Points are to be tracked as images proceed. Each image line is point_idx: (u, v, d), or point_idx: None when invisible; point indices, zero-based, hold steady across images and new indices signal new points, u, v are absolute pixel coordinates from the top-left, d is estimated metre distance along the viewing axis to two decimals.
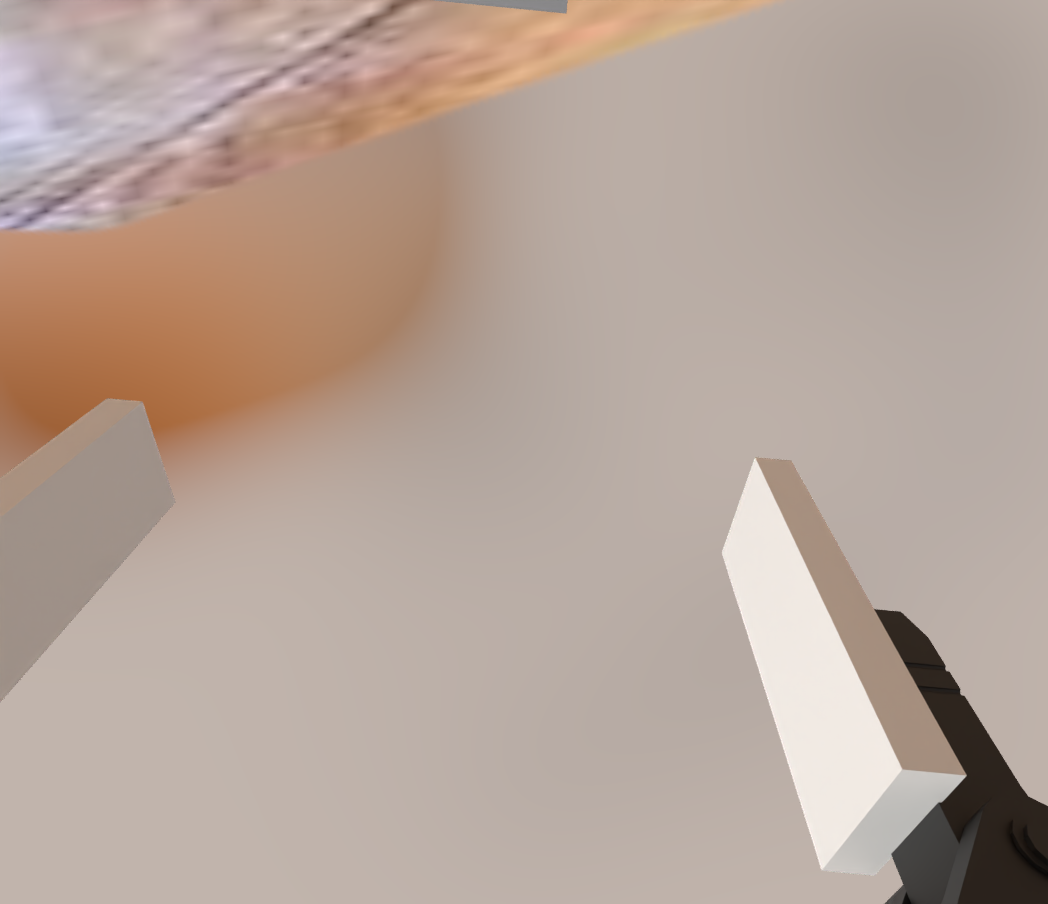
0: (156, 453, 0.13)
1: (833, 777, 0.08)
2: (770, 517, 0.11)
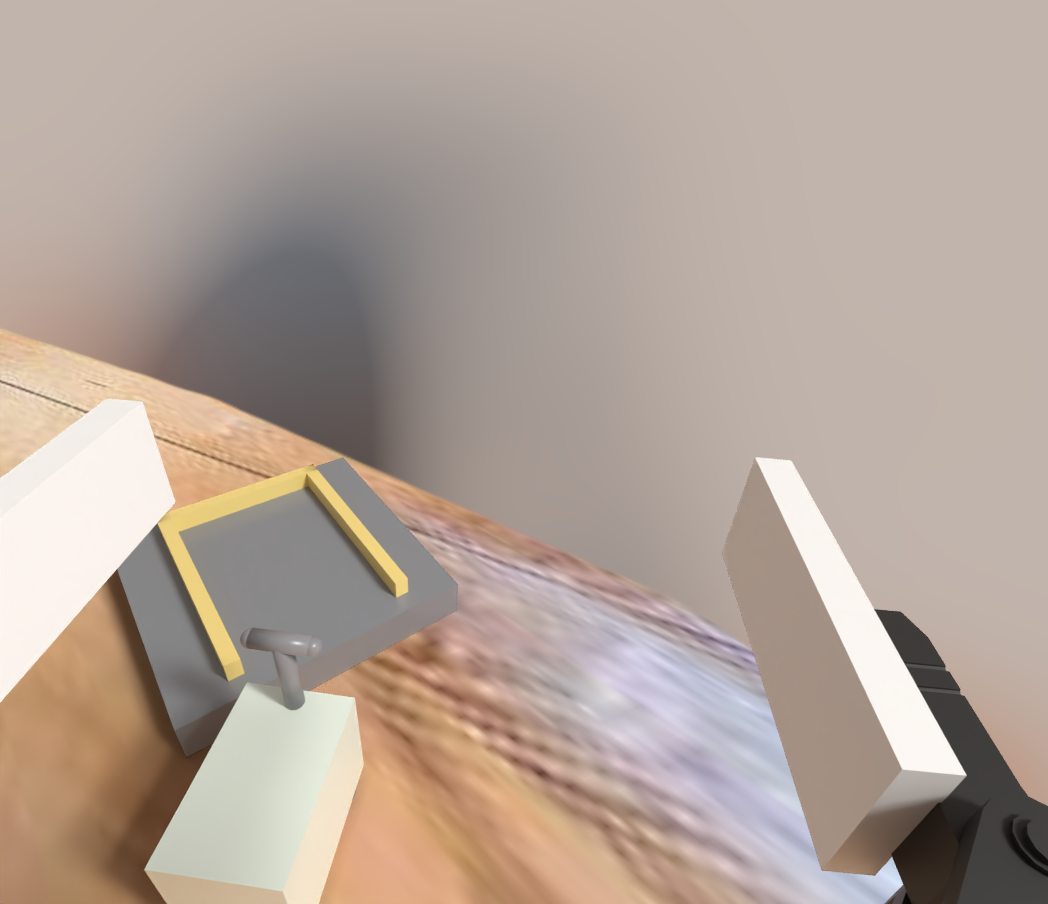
0: (157, 453, 0.13)
1: (833, 777, 0.08)
2: (769, 517, 0.11)
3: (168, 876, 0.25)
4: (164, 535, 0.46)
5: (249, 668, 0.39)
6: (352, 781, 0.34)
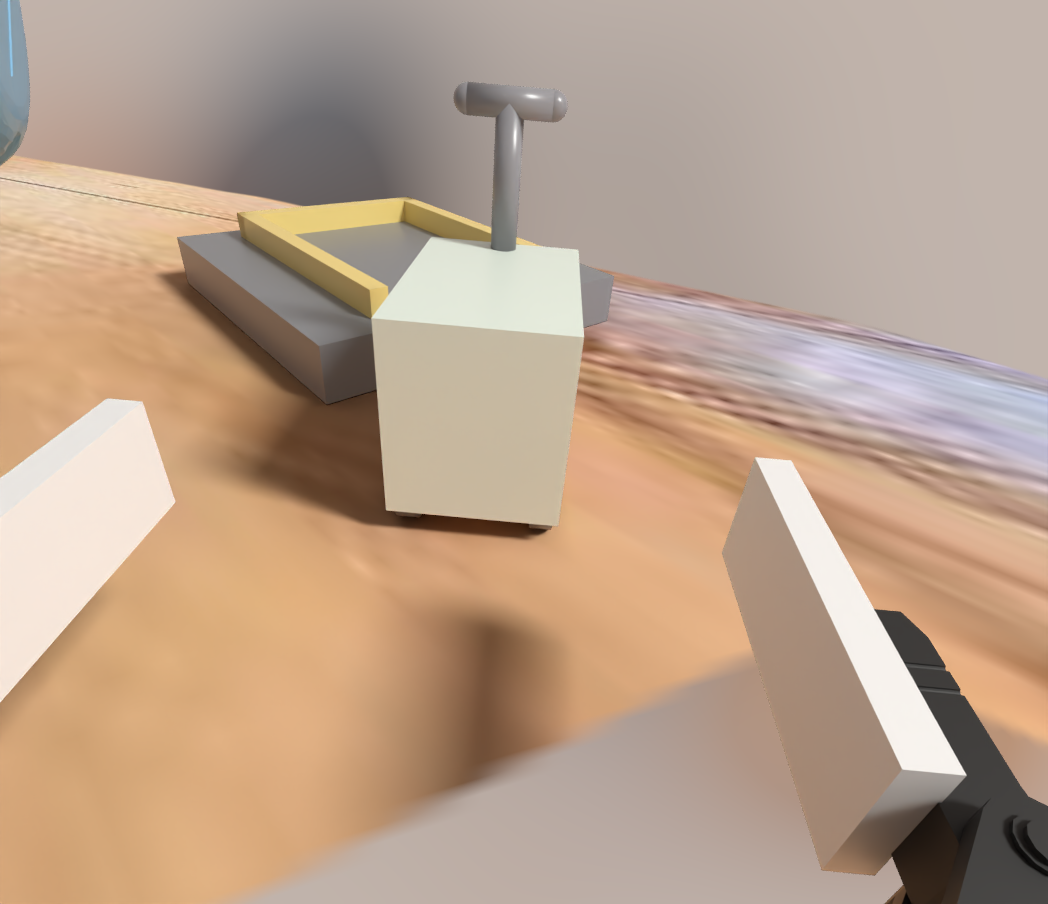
0: (157, 453, 0.13)
1: (833, 777, 0.08)
2: (769, 517, 0.11)
3: (405, 333, 0.17)
4: (254, 222, 0.37)
5: None
6: None
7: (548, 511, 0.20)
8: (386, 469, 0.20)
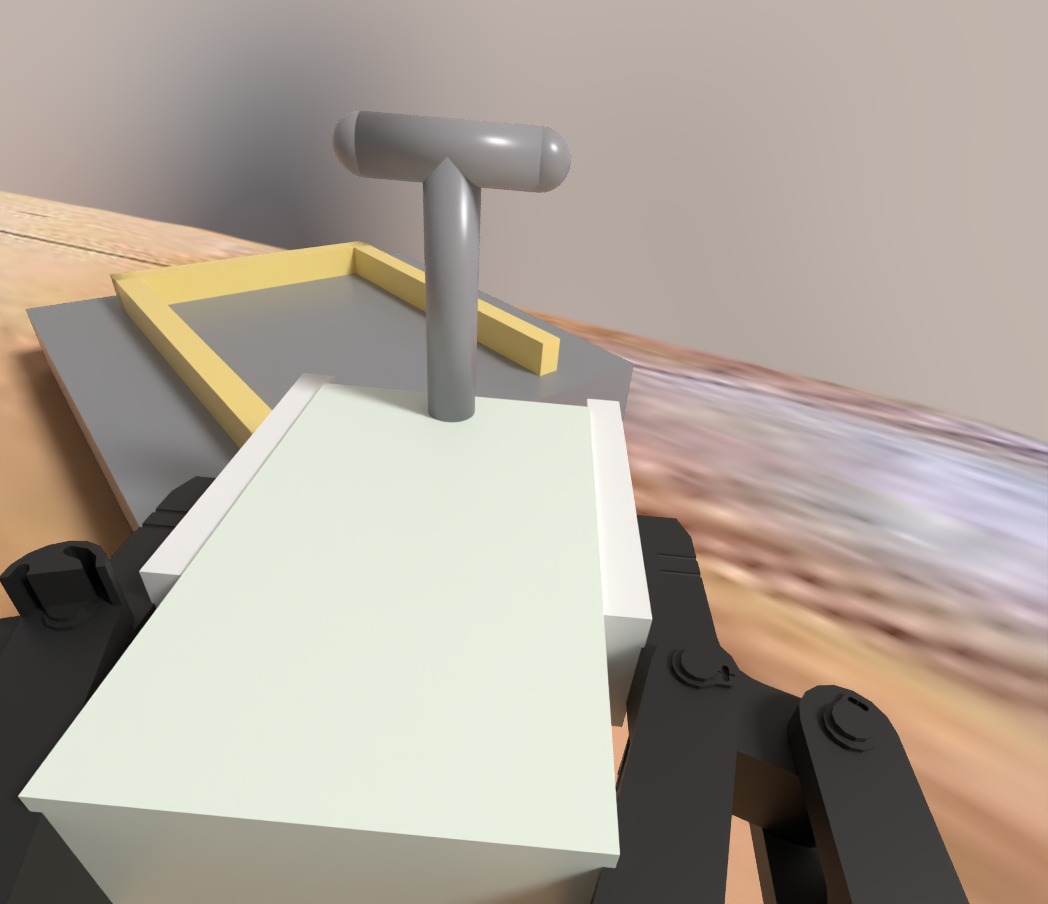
0: None
1: None
2: None
3: (125, 822, 0.06)
4: (127, 291, 0.26)
5: None
6: None
7: None
8: None
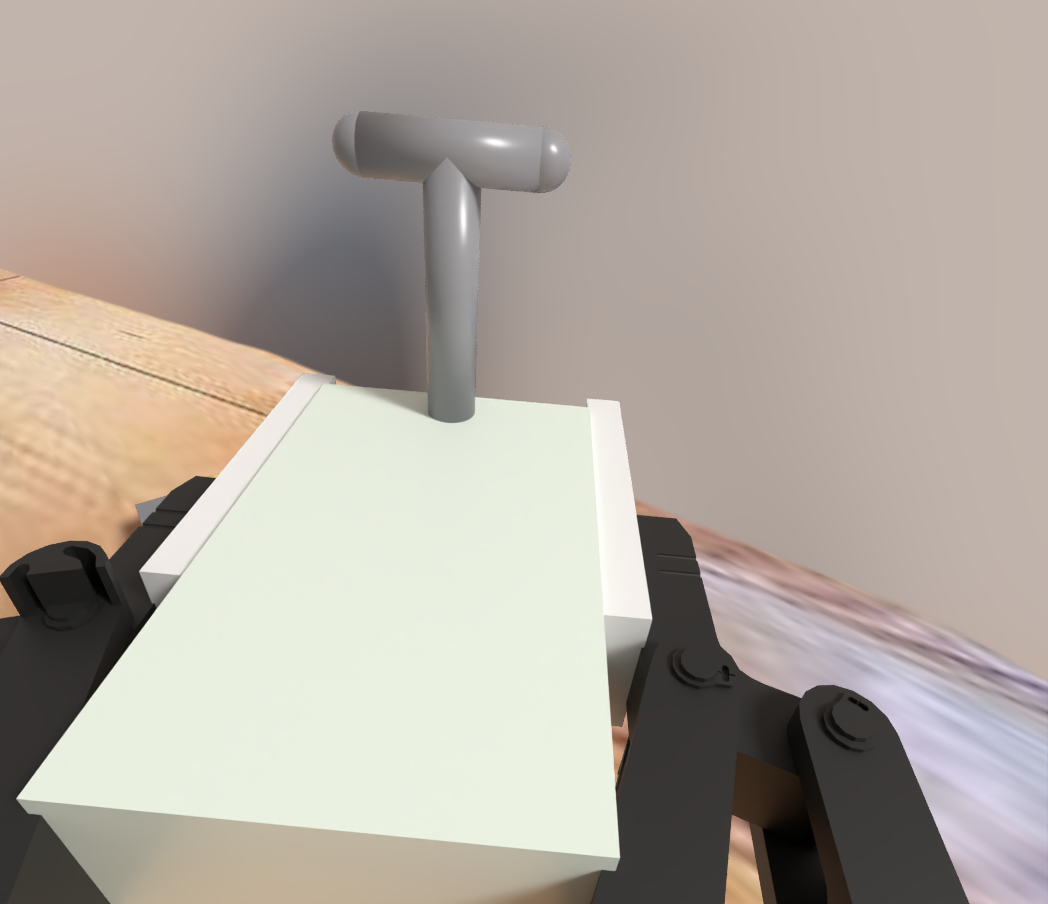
0: None
1: None
2: None
3: (123, 824, 0.06)
4: None
5: None
6: None
7: None
8: None
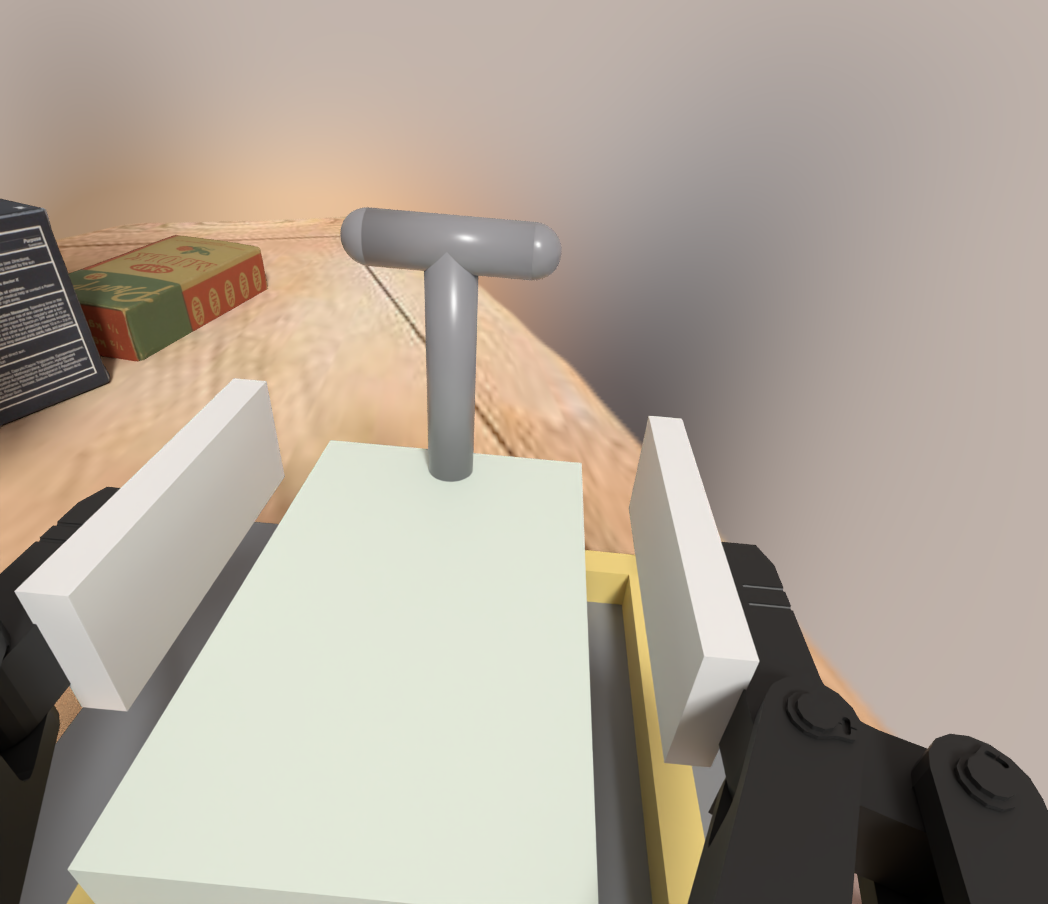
0: (273, 430, 0.14)
1: (673, 680, 0.10)
2: (653, 466, 0.12)
3: (161, 890, 0.07)
4: None
5: None
6: None
7: None
8: None
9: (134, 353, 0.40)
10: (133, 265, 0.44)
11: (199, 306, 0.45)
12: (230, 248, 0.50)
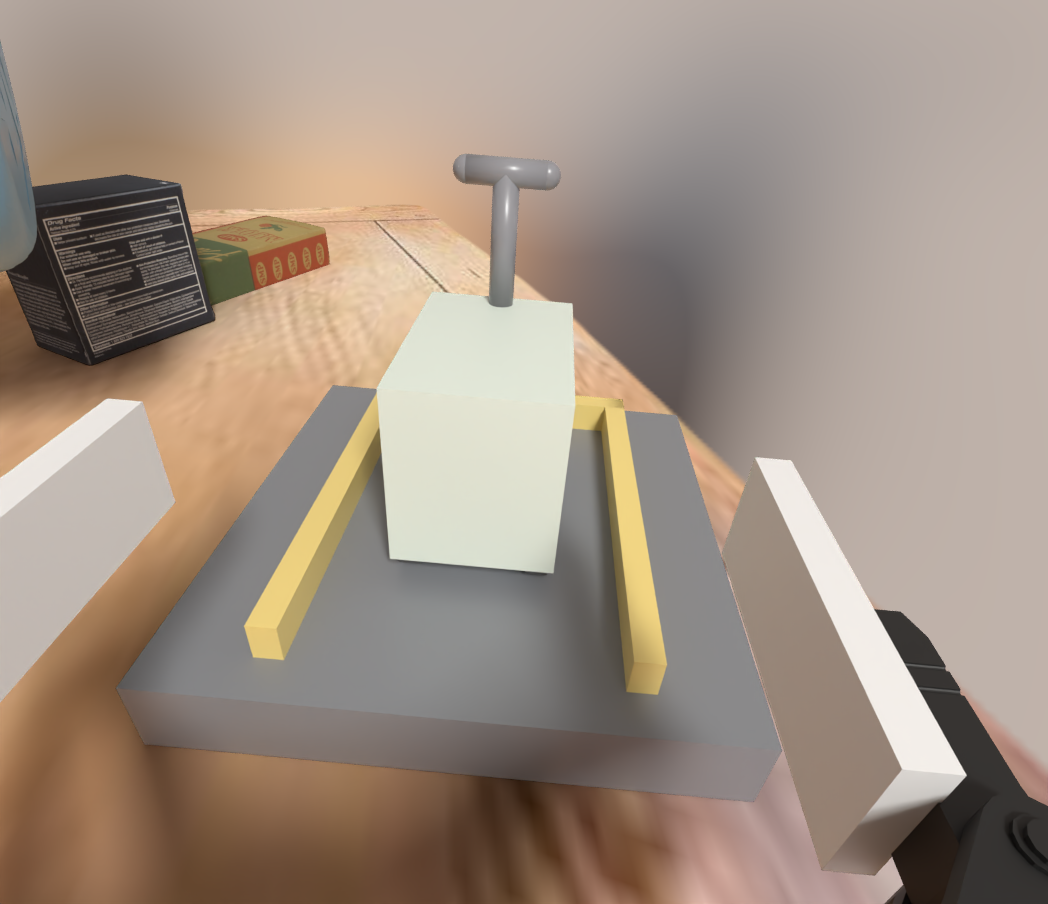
0: (157, 453, 0.13)
1: (833, 777, 0.08)
2: (770, 517, 0.11)
3: (408, 401, 0.18)
4: (372, 402, 0.30)
5: (297, 655, 0.19)
6: None
7: (543, 560, 0.21)
8: (390, 522, 0.21)
9: None
10: (221, 234, 0.56)
11: (263, 270, 0.55)
12: (300, 227, 0.60)
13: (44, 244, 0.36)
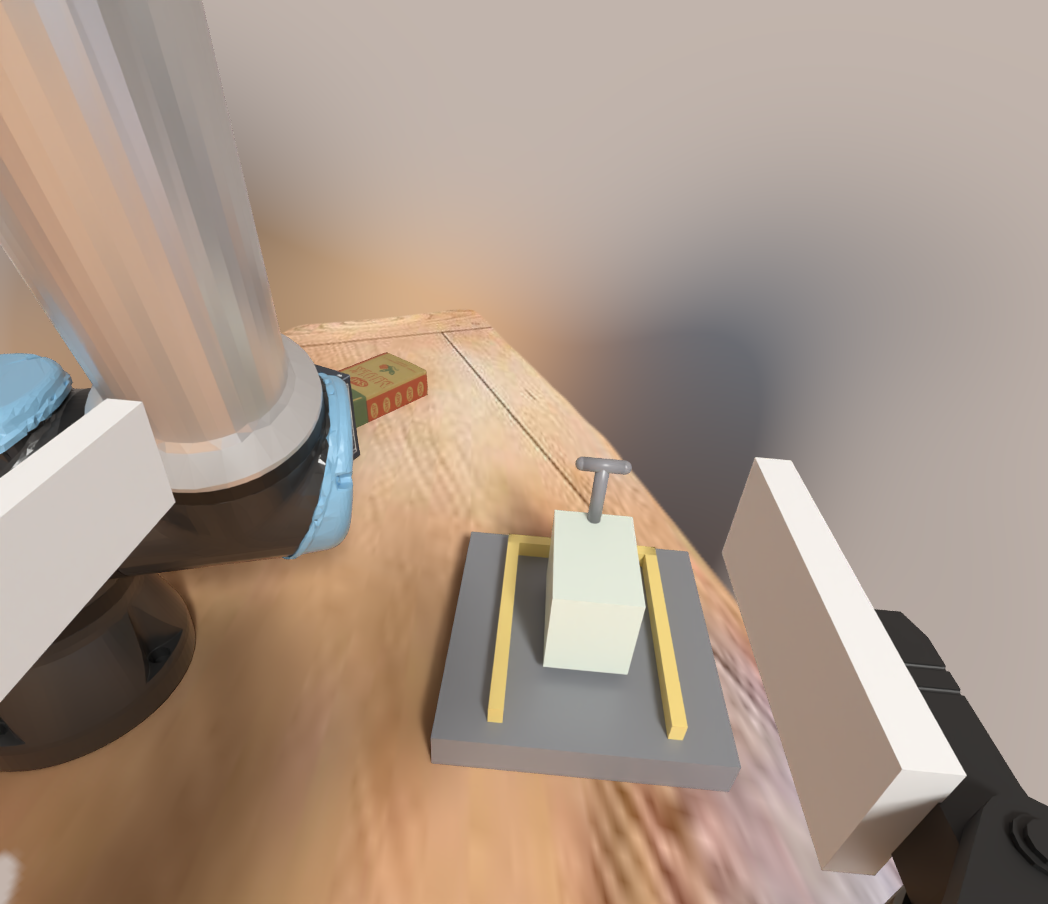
0: (157, 453, 0.13)
1: (833, 777, 0.08)
2: (770, 517, 0.11)
3: (566, 603, 0.38)
4: (507, 555, 0.51)
5: (508, 720, 0.40)
6: None
7: (623, 668, 0.42)
8: (547, 650, 0.41)
9: None
10: (351, 377, 0.77)
11: (376, 408, 0.75)
12: (408, 370, 0.79)
13: None
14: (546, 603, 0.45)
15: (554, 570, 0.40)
